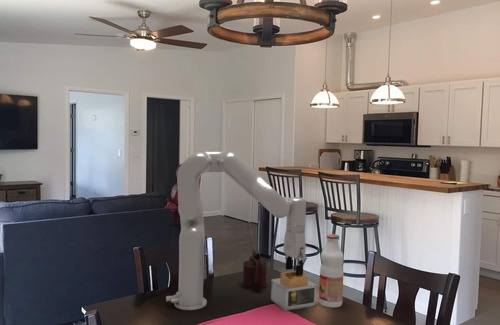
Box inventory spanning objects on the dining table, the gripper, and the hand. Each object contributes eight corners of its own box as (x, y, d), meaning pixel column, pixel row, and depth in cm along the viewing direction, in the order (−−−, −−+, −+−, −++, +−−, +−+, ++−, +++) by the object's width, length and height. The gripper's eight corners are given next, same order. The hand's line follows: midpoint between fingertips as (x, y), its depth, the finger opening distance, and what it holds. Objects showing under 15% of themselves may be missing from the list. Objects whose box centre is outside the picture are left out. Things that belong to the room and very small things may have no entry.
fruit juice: (337, 310, 156) (340, 238, 154) (315, 304, 161) (317, 235, 160) (345, 302, 163) (348, 234, 162) (324, 297, 169) (326, 231, 167)
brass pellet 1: (292, 290, 159) (291, 278, 159) (287, 288, 162) (287, 276, 162) (299, 289, 161) (299, 277, 161) (295, 287, 164) (294, 274, 164)
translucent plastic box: (285, 310, 153) (286, 281, 153) (270, 299, 164) (271, 272, 164) (316, 305, 159) (317, 277, 159) (299, 295, 170) (300, 268, 170)
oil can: (271, 292, 172) (273, 235, 171) (246, 293, 170) (248, 235, 169) (257, 272, 200) (259, 222, 199) (236, 273, 198) (237, 223, 197)
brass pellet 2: (288, 302, 160) (288, 290, 160) (288, 299, 164) (287, 287, 164) (297, 302, 160) (297, 290, 160) (297, 299, 164) (296, 287, 163)
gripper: (277, 224, 167) (275, 266, 167) (299, 233, 151) (297, 279, 152) (292, 223, 170) (291, 265, 171) (315, 232, 154) (314, 277, 155)
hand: (294, 271), depth 161 cm, fingers open, 7 cm apart
